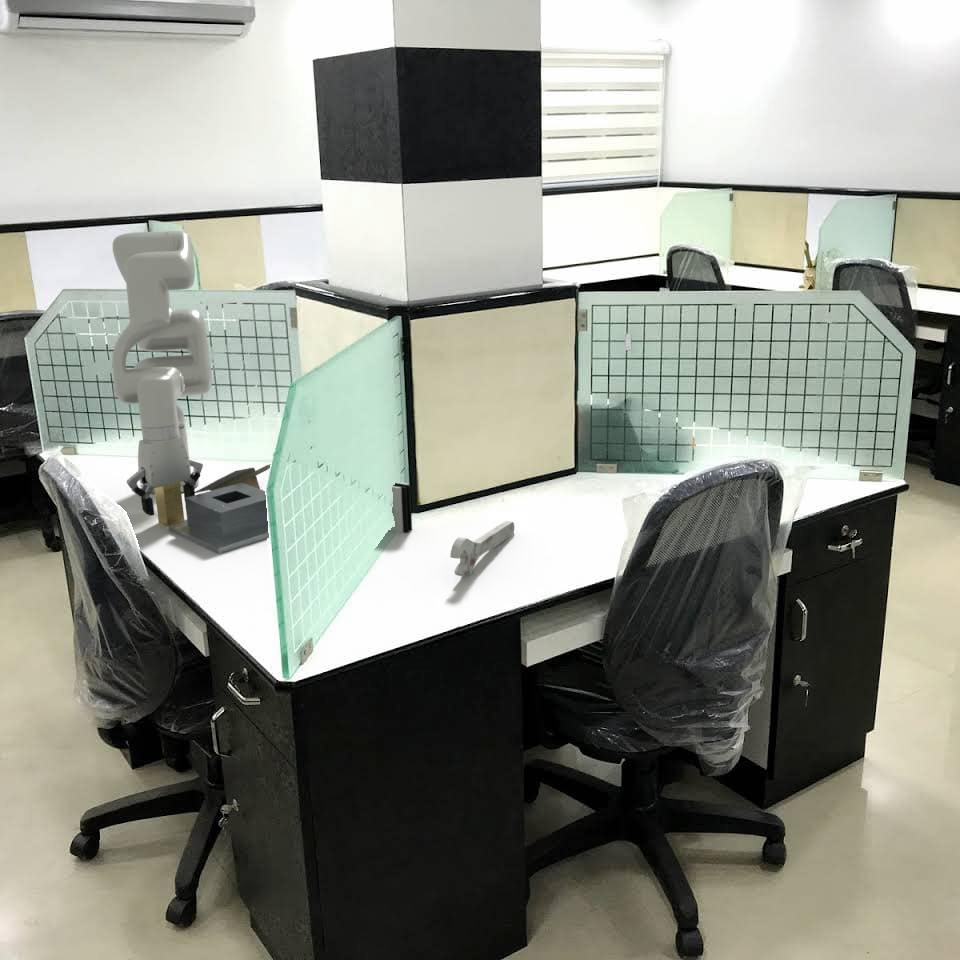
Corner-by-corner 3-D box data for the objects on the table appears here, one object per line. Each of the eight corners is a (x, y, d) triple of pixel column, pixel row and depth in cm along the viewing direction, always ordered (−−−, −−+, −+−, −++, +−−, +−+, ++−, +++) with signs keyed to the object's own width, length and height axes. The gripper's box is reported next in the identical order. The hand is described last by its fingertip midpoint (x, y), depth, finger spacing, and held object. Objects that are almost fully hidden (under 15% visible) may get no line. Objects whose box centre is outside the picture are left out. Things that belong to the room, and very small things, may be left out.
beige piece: (206, 525, 228) (244, 489, 221) (188, 493, 229) (225, 456, 222) (256, 514, 242) (293, 479, 235) (238, 484, 243) (274, 449, 236)
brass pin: (158, 522, 218) (153, 479, 215) (175, 518, 221) (170, 474, 217) (168, 527, 215) (162, 483, 212) (184, 522, 218) (179, 478, 215)
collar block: (168, 530, 213) (164, 498, 211) (248, 506, 227) (245, 476, 224) (219, 553, 200) (215, 520, 198) (300, 527, 213) (298, 495, 211)
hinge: (346, 529, 212) (343, 484, 209) (356, 520, 217) (353, 476, 214) (408, 534, 208) (406, 488, 205) (416, 525, 213) (414, 480, 210)
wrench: (514, 546, 209) (458, 586, 181) (506, 545, 209) (449, 584, 182) (515, 509, 207) (459, 543, 180) (507, 508, 208) (449, 542, 180)
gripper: (188, 422, 220) (196, 496, 225) (113, 437, 208) (124, 515, 213) (206, 427, 215) (214, 502, 220) (131, 443, 203) (141, 522, 208)
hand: (169, 508), depth 217 cm, fingers open, 9 cm apart
